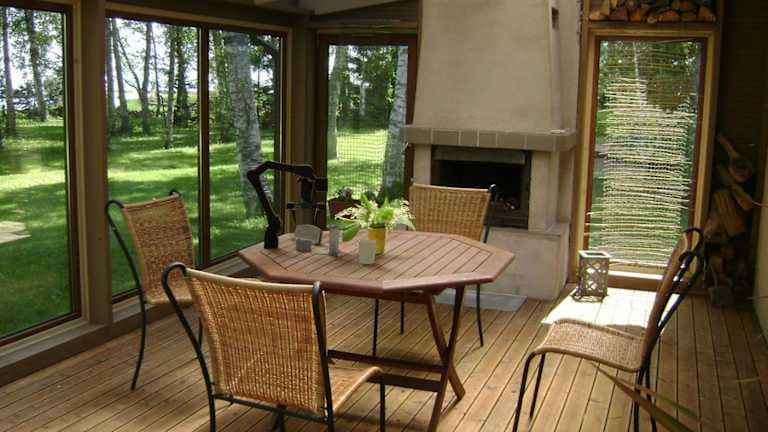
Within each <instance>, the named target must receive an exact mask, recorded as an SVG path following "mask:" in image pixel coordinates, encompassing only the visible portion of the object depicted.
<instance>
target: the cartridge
mask: <svg viewBox="0 0 768 432" xmlns="http://www.w3.org/2000/svg"><path fill="white" fill-rule="evenodd" d="M340 228H341V227H340V225H338V224H330V225H329V234H328V235H329V239H328V240H329V241H328V253H329V254H328V256H329V257H331V258H332V257H339V246H340V242H339V240H340Z"/></svg>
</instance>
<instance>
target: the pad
mask: <svg viewBox="0 0 768 432" xmlns="http://www.w3.org/2000/svg"><path fill="white" fill-rule="evenodd" d="M310 253H311V255H329V249H311V251H310Z"/></svg>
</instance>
